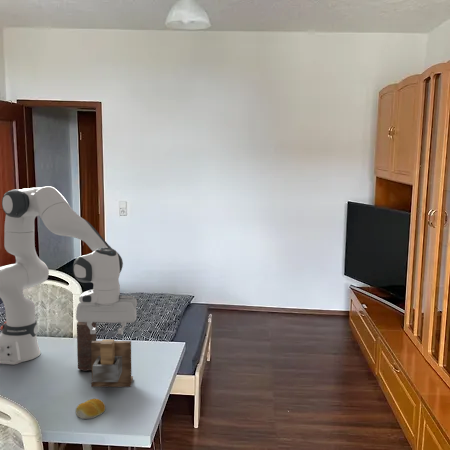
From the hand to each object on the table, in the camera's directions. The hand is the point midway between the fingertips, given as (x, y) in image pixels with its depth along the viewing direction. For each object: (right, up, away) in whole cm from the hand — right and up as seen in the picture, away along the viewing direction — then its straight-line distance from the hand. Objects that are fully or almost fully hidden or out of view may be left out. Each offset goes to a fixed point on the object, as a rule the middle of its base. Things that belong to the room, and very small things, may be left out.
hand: (106, 333), depth 168 cm
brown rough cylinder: (-13, -19, +21) cm, 31 cm away
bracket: (0, -21, +6) cm, 22 cm away
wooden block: (0, -15, +2) cm, 15 cm away
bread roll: (-3, -24, -10) cm, 26 cm away
